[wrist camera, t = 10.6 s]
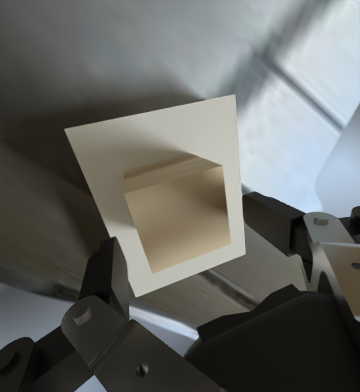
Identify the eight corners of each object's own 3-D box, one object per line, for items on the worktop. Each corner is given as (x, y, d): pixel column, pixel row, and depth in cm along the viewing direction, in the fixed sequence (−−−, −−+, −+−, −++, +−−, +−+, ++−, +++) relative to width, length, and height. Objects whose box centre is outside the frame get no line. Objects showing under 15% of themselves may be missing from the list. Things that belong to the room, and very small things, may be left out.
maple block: (123, 170, 15) (123, 193, 10) (189, 153, 16) (222, 165, 11) (143, 229, 18) (152, 274, 12) (200, 210, 19) (231, 243, 13)
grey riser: (79, 128, 18) (64, 128, 13) (210, 101, 20) (235, 94, 16) (133, 266, 25) (136, 297, 20) (225, 233, 27) (245, 254, 23)
